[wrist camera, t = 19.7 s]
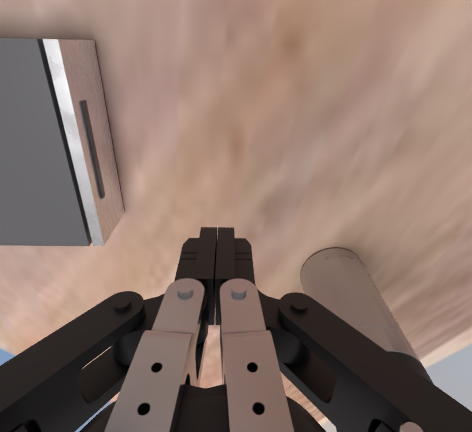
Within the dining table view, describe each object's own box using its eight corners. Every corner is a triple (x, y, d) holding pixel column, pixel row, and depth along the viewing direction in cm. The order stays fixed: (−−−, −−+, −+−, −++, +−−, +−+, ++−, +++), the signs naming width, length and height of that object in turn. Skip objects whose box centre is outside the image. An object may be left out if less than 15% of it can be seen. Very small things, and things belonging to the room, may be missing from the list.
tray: (96, 39, 32) (60, 39, 25) (125, 213, 41) (105, 245, 35) (-86, 35, 31) (-171, 33, 25) (-13, 211, 41) (-60, 244, 34)
